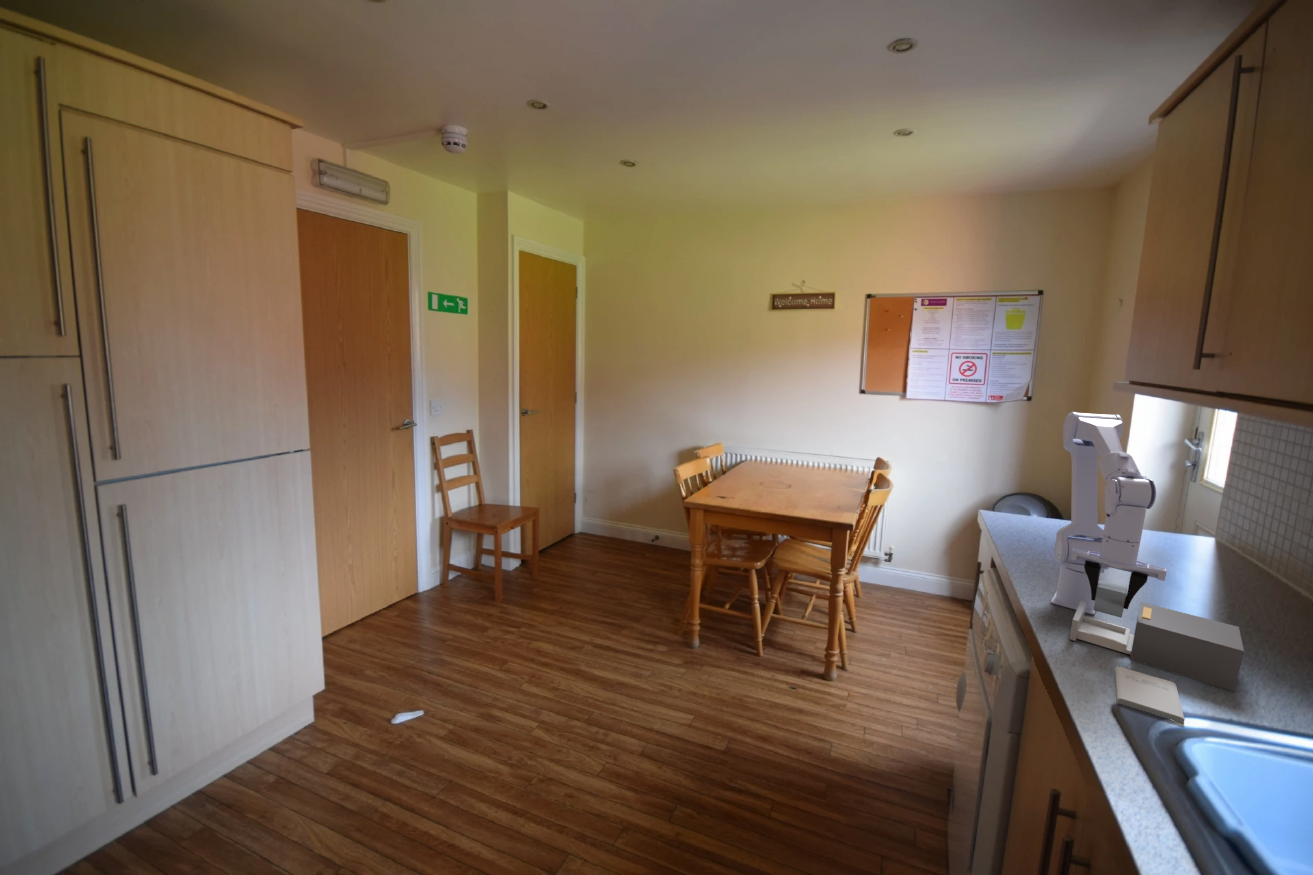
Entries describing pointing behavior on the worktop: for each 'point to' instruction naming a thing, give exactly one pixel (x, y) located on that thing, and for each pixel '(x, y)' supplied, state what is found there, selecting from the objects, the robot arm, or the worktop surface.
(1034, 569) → the worktop surface
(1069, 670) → the worktop surface
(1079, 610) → the tray
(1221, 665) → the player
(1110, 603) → the block
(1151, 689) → the external hard drive
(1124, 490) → the robot arm
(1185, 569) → the worktop surface
